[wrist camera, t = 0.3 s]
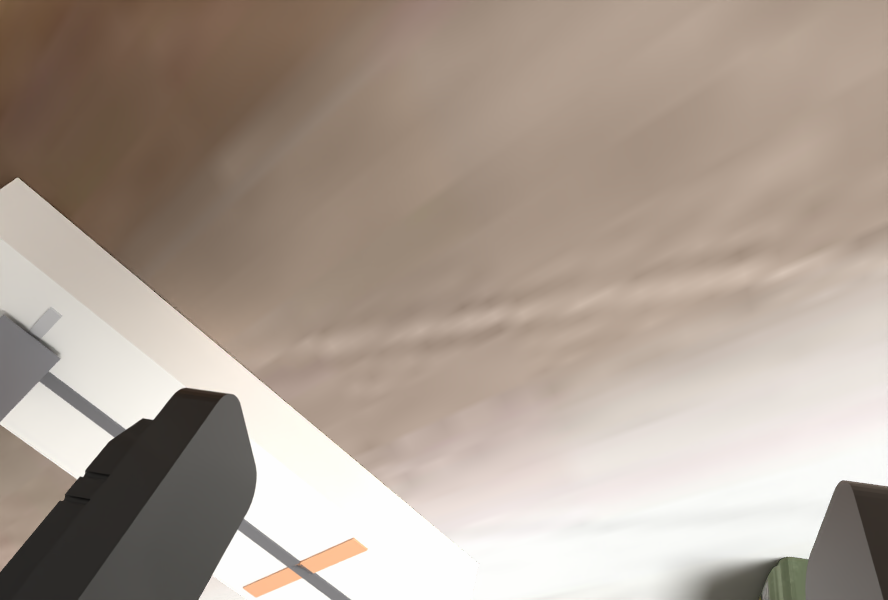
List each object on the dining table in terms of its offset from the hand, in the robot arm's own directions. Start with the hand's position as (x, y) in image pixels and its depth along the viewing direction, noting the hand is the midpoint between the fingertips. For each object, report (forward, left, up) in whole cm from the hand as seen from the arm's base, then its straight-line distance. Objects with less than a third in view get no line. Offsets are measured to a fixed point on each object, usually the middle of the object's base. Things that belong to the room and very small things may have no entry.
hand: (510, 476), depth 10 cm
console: (+22, -17, -17) cm, 33 cm away
